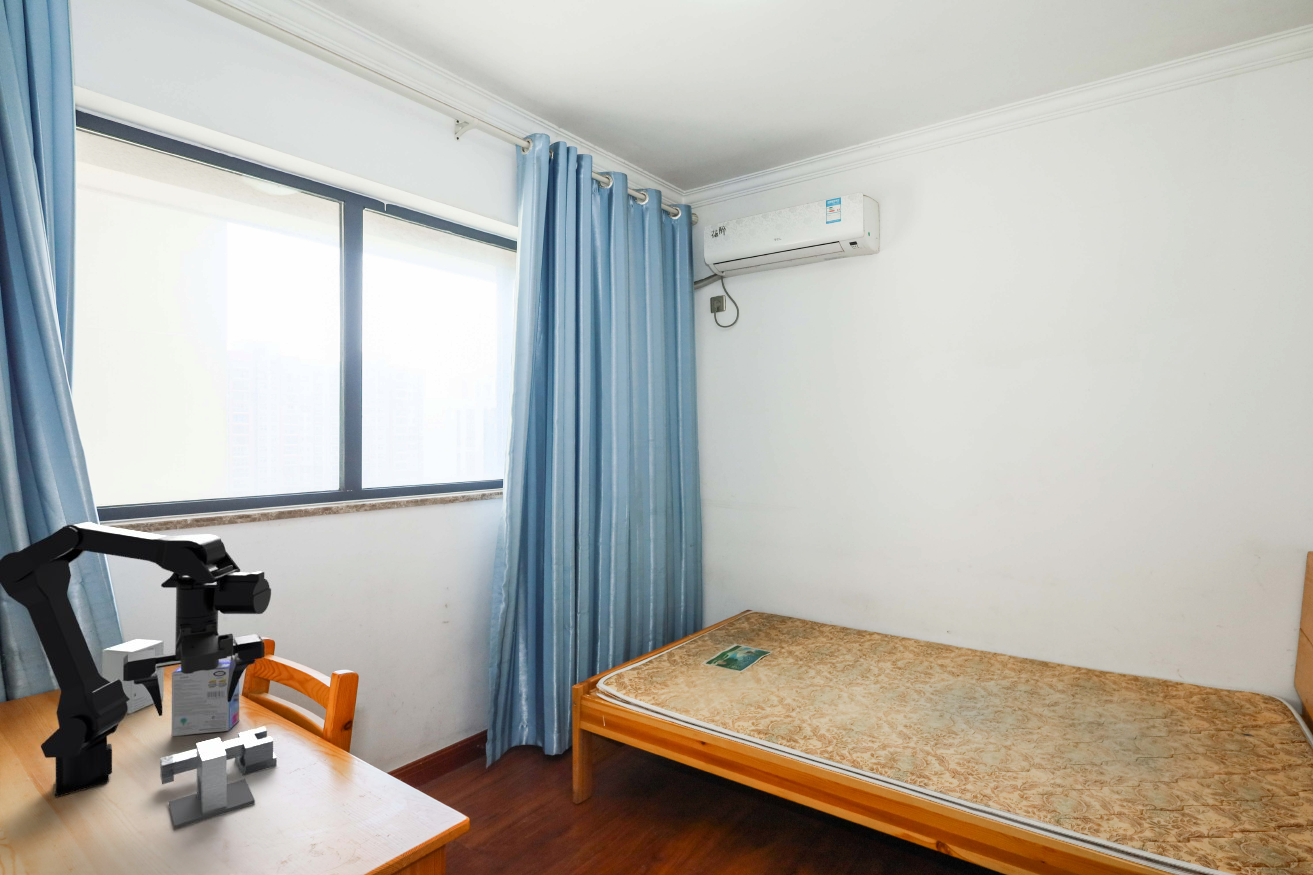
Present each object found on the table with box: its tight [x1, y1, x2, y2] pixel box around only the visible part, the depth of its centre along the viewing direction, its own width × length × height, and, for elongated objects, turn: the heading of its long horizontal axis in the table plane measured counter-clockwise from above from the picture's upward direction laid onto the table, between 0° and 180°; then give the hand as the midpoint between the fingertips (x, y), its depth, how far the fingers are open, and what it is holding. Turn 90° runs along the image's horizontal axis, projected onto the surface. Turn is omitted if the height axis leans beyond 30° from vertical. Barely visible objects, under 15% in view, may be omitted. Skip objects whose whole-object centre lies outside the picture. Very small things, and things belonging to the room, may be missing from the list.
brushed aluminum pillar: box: [195, 737, 228, 814], centre depth 101 cm, size 3×7×8 cm, turn 41°
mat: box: [168, 778, 256, 831], centre depth 101 cm, size 10×8×1 cm
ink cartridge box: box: [170, 659, 240, 737], centre depth 126 cm, size 10×6×14 cm, turn 104°
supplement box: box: [101, 638, 165, 715], centre depth 136 cm, size 7×7×13 cm
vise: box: [159, 725, 278, 785], centre depth 110 cm, size 16×7×4 cm, turn 131°
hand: (195, 707), depth 108 cm, fingers open, 9 cm apart
